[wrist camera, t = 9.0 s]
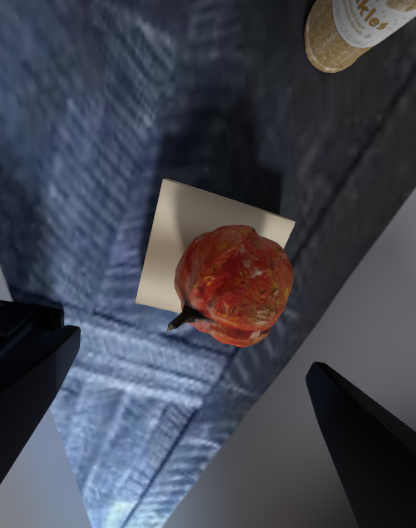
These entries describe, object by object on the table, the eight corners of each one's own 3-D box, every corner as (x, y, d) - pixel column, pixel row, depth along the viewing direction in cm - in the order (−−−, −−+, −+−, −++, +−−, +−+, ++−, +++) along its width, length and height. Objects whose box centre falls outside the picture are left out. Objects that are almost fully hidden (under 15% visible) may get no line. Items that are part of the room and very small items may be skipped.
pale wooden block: (239, 304, 23) (247, 328, 20) (145, 281, 22) (135, 302, 18) (277, 213, 20) (295, 222, 16) (169, 178, 18) (163, 178, 15)
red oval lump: (244, 203, 18) (125, 229, 12) (340, 222, 13) (217, 281, 7) (239, 281, 21) (144, 332, 15) (314, 320, 16) (215, 416, 10)
